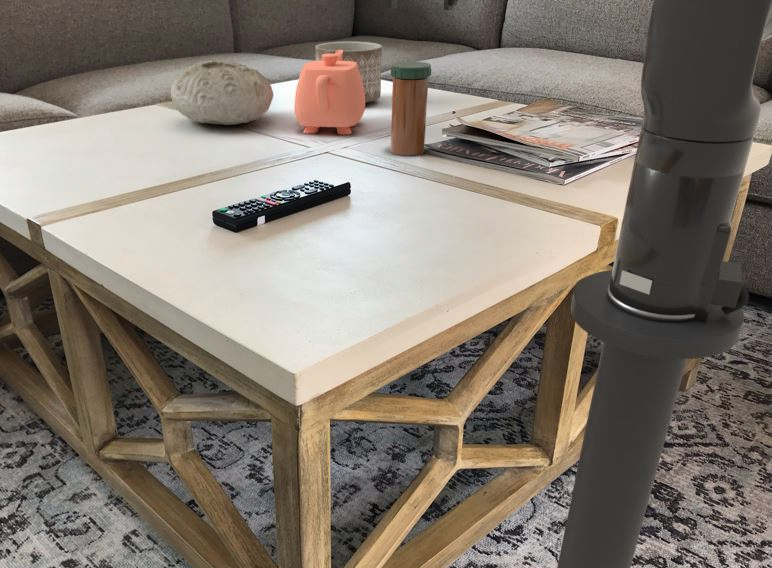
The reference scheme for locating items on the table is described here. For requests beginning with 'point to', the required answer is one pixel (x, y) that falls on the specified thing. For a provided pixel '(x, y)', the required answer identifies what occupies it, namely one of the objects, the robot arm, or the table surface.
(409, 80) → the jar
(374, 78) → the planter
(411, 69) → the lid
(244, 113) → the grey rounded lump
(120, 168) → the table surface
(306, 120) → the teapot
